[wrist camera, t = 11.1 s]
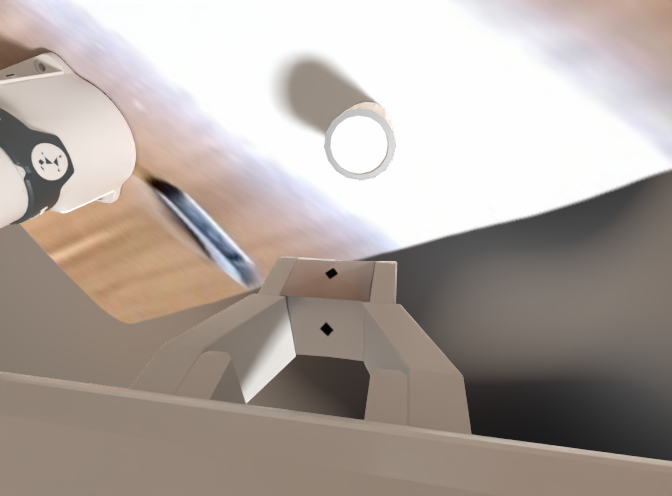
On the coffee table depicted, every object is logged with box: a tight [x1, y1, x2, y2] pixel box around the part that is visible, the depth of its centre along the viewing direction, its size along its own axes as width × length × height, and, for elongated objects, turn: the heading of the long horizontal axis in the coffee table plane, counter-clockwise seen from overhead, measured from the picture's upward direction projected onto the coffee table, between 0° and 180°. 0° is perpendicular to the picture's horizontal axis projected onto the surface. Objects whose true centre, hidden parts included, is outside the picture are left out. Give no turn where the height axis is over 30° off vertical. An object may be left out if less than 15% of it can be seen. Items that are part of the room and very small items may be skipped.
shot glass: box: [324, 102, 396, 180], centre depth 36 cm, size 7×7×7 cm
